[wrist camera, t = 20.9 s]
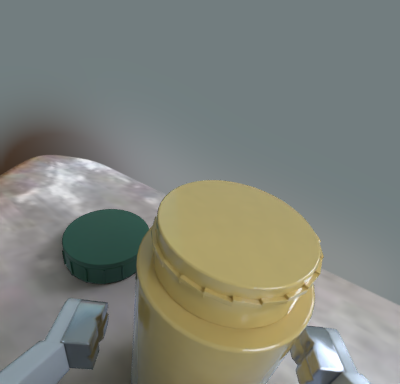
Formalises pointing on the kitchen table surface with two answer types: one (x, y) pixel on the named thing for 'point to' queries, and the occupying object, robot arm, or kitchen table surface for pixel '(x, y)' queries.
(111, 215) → the jar lid
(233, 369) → the jam jar
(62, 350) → the robot arm
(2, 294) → the kitchen table surface
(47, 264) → the kitchen table surface
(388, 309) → the kitchen table surface
